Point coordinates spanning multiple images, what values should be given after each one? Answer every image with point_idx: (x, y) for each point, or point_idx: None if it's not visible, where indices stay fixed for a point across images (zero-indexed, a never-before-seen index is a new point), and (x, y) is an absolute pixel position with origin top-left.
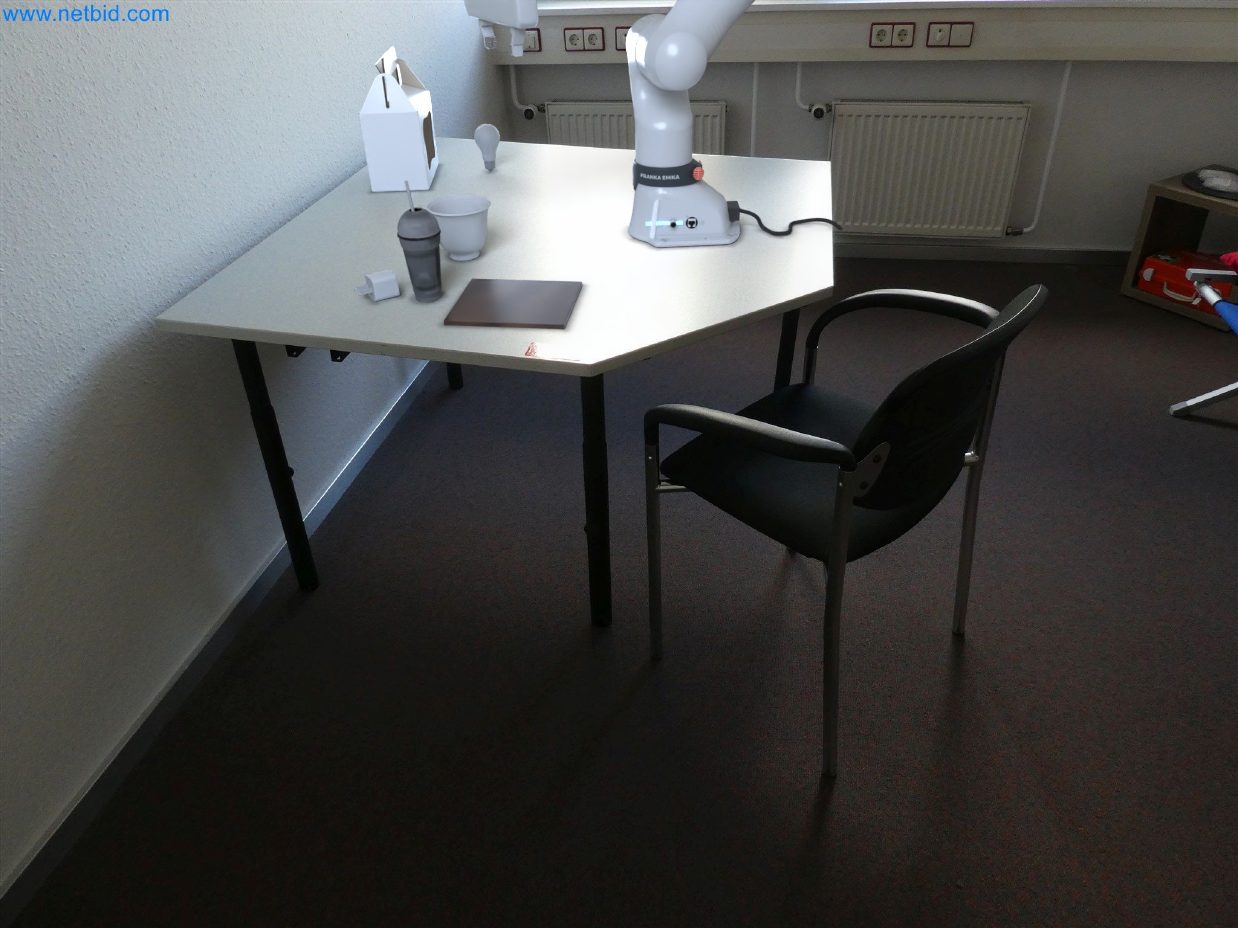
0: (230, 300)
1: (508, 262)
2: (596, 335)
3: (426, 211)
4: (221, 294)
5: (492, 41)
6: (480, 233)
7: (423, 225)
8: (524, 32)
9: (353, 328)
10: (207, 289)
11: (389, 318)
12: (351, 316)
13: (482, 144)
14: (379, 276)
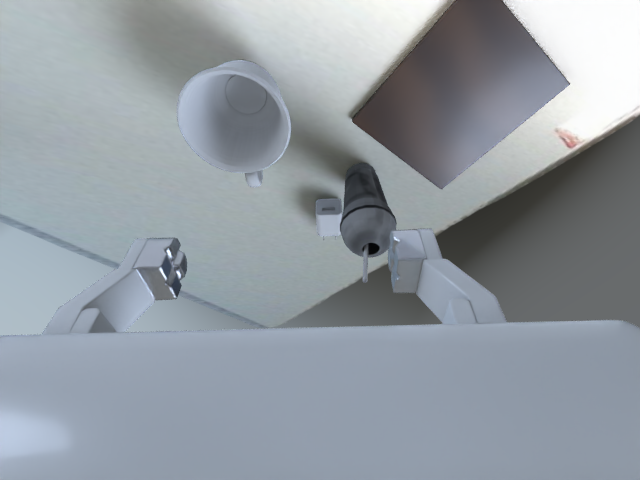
0: (263, 296)
1: (308, 39)
2: (619, 53)
3: (379, 237)
4: (246, 299)
5: (169, 270)
6: (277, 89)
7: None
8: (494, 306)
9: None
10: (229, 304)
11: None
12: None
13: None
14: (334, 227)
